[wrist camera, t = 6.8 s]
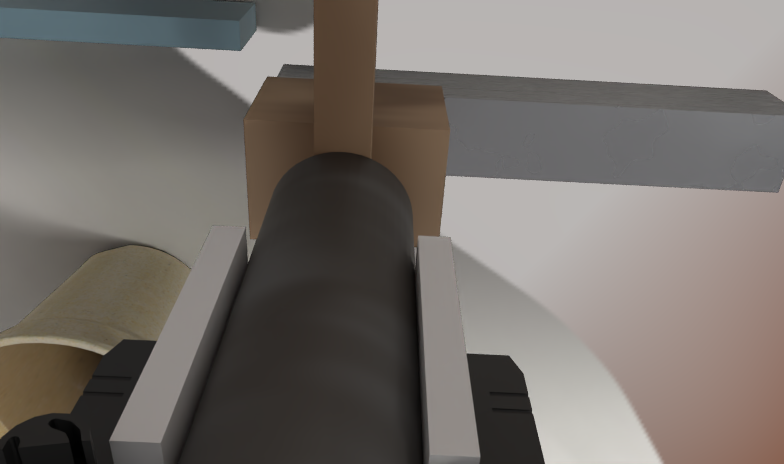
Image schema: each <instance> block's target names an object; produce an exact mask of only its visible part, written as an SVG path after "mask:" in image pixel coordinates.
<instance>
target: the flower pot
mask: <svg viewBox="0 0 784 464" xmlns="http://www.w3.org/2000/svg"><path fill="white" fill-rule="evenodd" d="M190 272H191V270H190V269H189V268H188V267H187V266H186V265H185V264H183V263H182V262H181V261H179V260H178V259H176V258H175V257H173V256H171V255H169V254H167V253H164V252H162V251H159V250H156V249H153V248H149V247H143V246H136V245H128V246H124V247H120V248H116V249H111V250H107V251H104V252H100V253H97V254H95V255H93V256H92V257H91V258H89V259H88V260H87V261H86V262H85V263H84V264H83V265H82V266H81V267H80V268H79V269H78V270H77V271H75V272H74V273H73V274H72V275H71V276H70V277H69V278H68V279H67V280H66V281H65V282H64V283H63V284H62V285H60V286H59V287H58V288H57V289H56V290H55V291H54V292H53V293H52V294H50V295H49V296H48V297H47V298H46V299H45V300H44V301H43V302H42V303H41V304H40V305H38V306H37V307H36V308H35V309H34V310H33V311H32V312H31V313H30V314H29V315H27V316H26V317H25V318H24V319H23V320H22V321H21V322H20V323H19V324H17V325H16V326H14V327H12V328H9V329H7V330H5V331H3V332H2V333H0V439H1V437H2V436H3V435H5V434H6V433H7V432H8V431H10V430H11V429H12V428H13V427H15V426H16V425H18V424H20V423H22V422H24V421H26V420H28V419H31V418H33V417H36V416H41V415H45V414H50V413H67V414H70V413H71V411H72V410H73V408H74V406H75V404H76V403H77V401H78V399H79V397H80V396H81V395H83V390H84V389H85V387H86V385H87V383H88V382H89V380H90V379H92V375H93V373H94V371H95V369H96V368H97V366H98V364H99V362H100V361H101V359H102V357H103V356H104V355H105V354H106V353H107V352H109V351H110V350H111V349H112V348H114V347H115V346H116V345H117V344H118V343H120V342H121V341H122V340H123V339H130V340H151V341H157V340H158V338H159V336H160V334H161V332H162V330H163V328H164V326H165V324H166V321H167V319H168V317H169V315H170V313H171V311H172V309H173V307H174V305H175V303H176V301H177V299H178V296H179V294H180V292H181V290H182V288H183V286H184V284H185V282H186V280H187V278H188V276H189V274H190Z"/></svg>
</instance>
